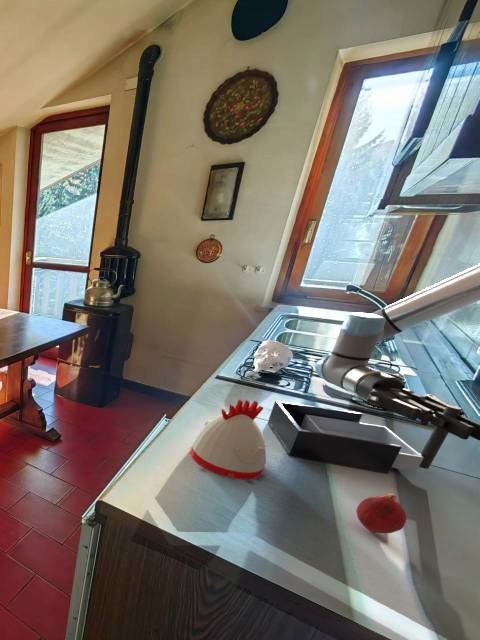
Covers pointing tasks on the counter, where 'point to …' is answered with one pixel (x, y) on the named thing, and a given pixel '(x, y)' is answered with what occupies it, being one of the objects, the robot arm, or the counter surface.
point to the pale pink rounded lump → (272, 356)
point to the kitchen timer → (232, 443)
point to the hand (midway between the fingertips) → (476, 433)
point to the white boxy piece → (384, 437)
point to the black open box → (328, 439)
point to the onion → (381, 514)
